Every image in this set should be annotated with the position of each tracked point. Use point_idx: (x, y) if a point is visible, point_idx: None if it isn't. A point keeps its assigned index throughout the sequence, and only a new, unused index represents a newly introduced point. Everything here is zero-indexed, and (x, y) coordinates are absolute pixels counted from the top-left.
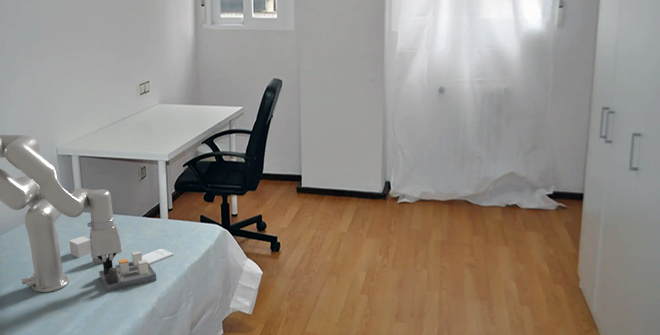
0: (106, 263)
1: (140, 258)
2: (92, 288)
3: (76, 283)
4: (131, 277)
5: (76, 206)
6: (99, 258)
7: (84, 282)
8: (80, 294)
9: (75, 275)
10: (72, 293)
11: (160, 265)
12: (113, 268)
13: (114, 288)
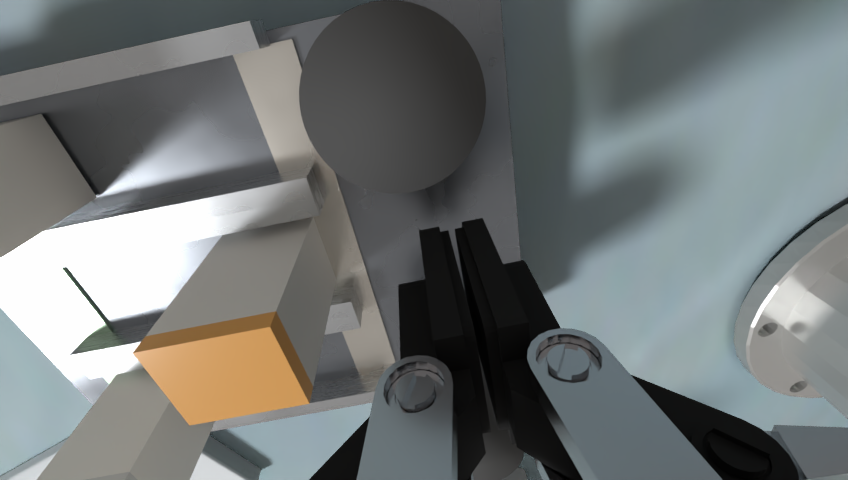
0: (512, 299)
1: (83, 436)
2: (607, 126)
3: (697, 261)
4: (127, 50)
5: None
6: (711, 415)
7: (638, 261)
8: (752, 19)
9: (661, 371)
10: (805, 75)
11: (33, 380)
12: (377, 144)
13: None
